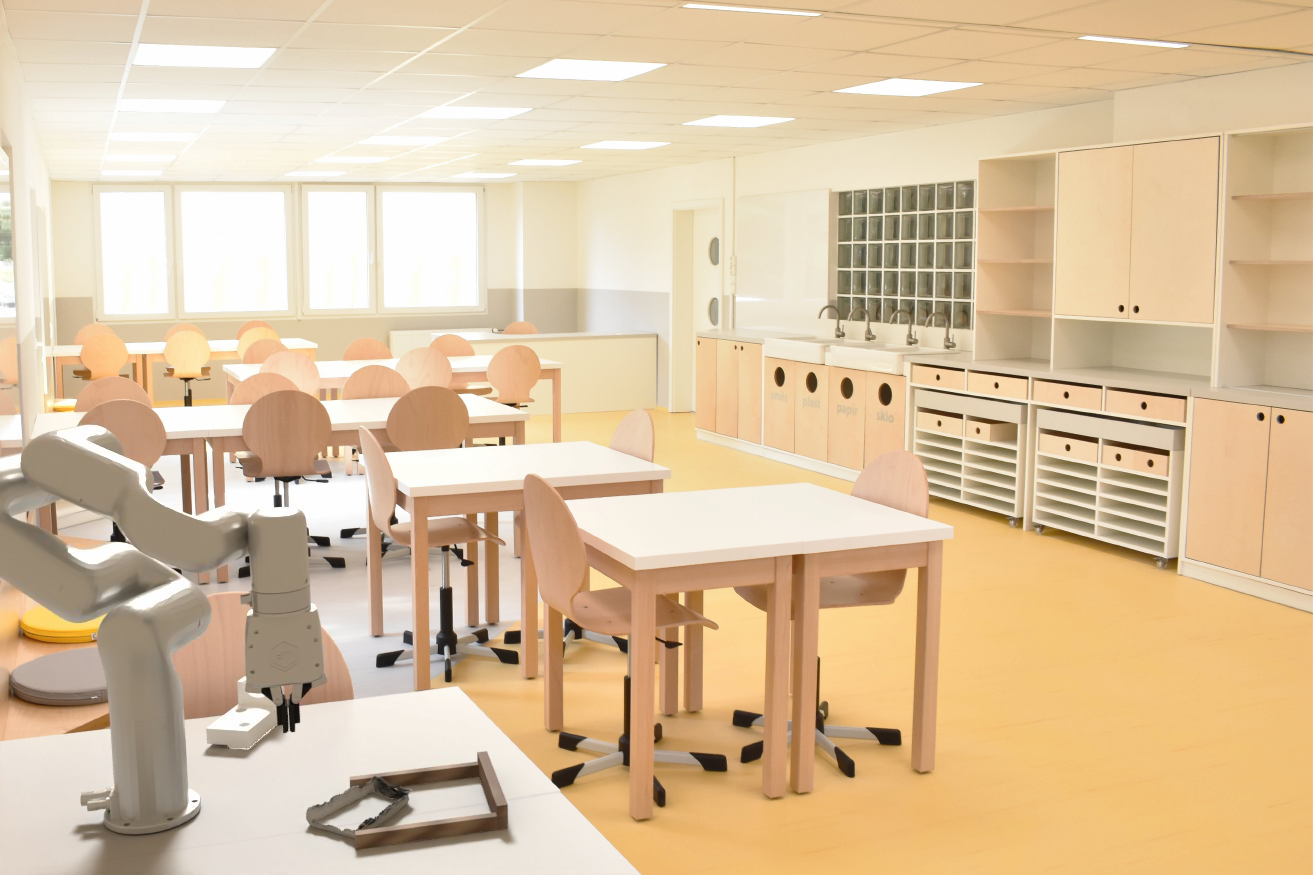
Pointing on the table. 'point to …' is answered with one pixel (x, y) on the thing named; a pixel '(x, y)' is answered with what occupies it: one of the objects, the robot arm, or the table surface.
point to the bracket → (244, 720)
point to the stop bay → (444, 826)
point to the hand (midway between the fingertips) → (289, 728)
